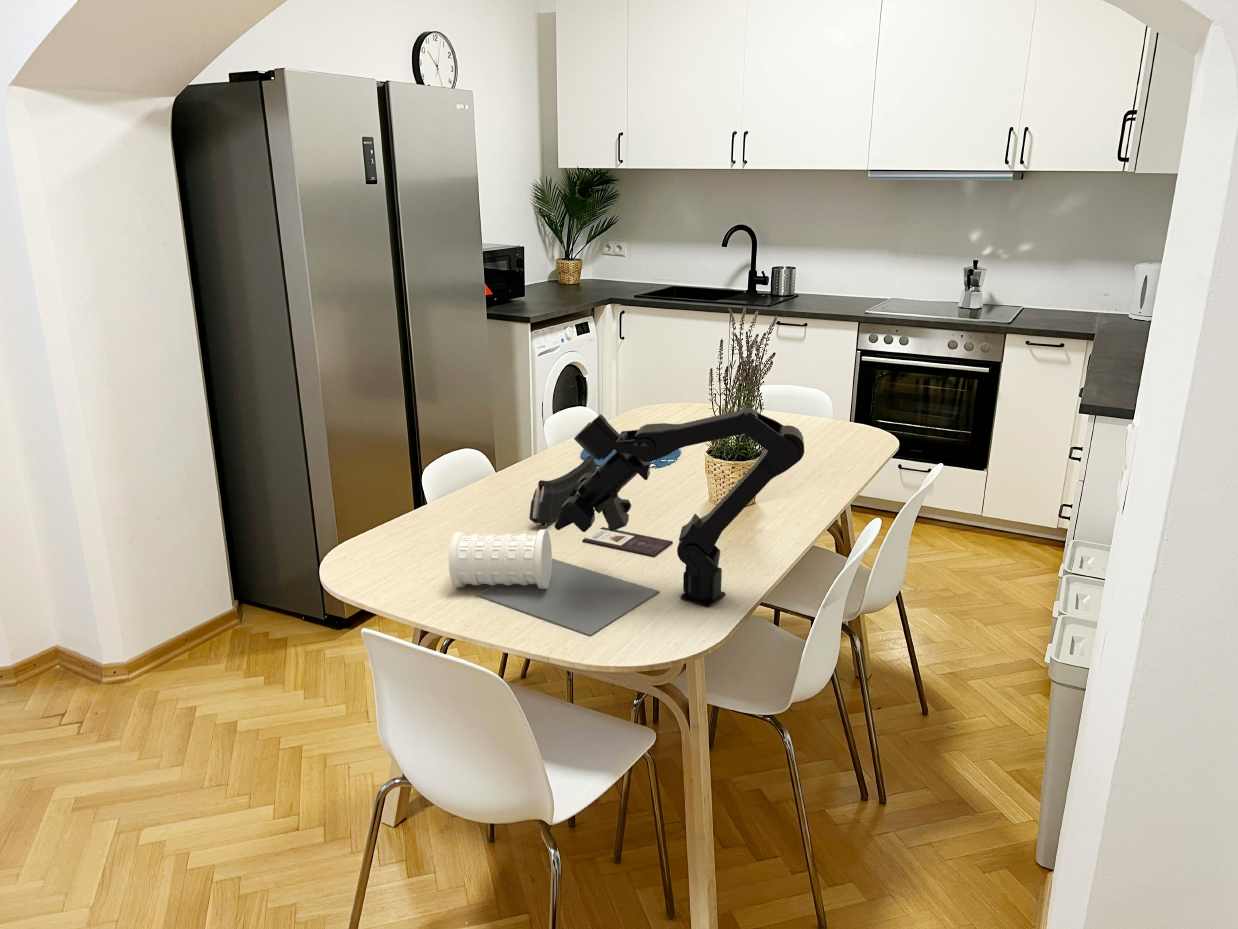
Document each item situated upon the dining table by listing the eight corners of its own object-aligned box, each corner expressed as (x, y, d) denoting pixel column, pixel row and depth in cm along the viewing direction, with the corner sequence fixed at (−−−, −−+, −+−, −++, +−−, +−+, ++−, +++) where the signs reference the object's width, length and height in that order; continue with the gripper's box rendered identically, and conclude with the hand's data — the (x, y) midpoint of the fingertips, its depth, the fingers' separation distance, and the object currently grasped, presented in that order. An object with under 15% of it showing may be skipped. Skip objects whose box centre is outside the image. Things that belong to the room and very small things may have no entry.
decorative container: (550, 523, 179) (462, 524, 181) (539, 537, 168) (446, 538, 170) (553, 579, 181) (466, 579, 183) (542, 597, 170) (450, 597, 172)
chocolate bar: (654, 555, 190) (582, 540, 199) (654, 559, 191) (582, 543, 199) (672, 541, 198) (602, 527, 206) (672, 545, 198) (602, 530, 207)
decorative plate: (702, 465, 259) (703, 448, 257) (613, 481, 244) (613, 463, 242) (648, 438, 283) (649, 422, 281) (564, 450, 268) (564, 434, 266)
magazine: (593, 455, 232) (536, 452, 204) (604, 457, 230) (548, 453, 203) (585, 521, 232) (527, 526, 205) (596, 523, 231) (539, 528, 204)
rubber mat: (659, 592, 174) (659, 590, 174) (590, 636, 157) (590, 635, 157) (549, 559, 190) (549, 557, 190) (476, 595, 173) (475, 594, 173)
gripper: (635, 524, 160) (575, 577, 165) (648, 490, 177) (594, 539, 182) (591, 480, 159) (532, 534, 164) (609, 450, 176) (556, 500, 181)
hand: (556, 528), depth 173 cm, fingers closed
